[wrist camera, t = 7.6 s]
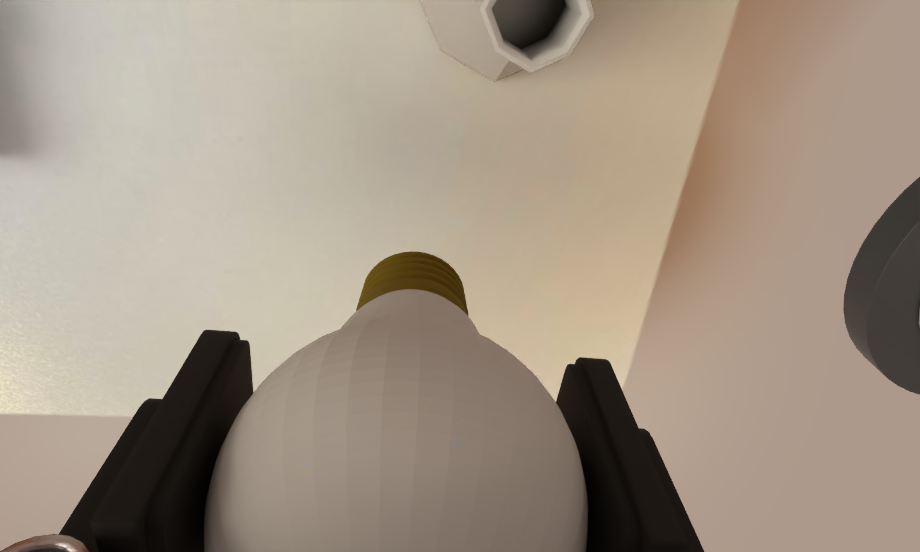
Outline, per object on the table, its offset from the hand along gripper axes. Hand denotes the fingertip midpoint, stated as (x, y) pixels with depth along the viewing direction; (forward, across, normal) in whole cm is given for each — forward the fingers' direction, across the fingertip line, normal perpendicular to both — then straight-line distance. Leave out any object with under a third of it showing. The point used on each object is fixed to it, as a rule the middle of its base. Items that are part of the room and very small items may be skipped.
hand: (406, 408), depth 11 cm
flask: (+20, -3, -7) cm, 21 cm away
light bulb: (+5, 0, 0) cm, 5 cm away
